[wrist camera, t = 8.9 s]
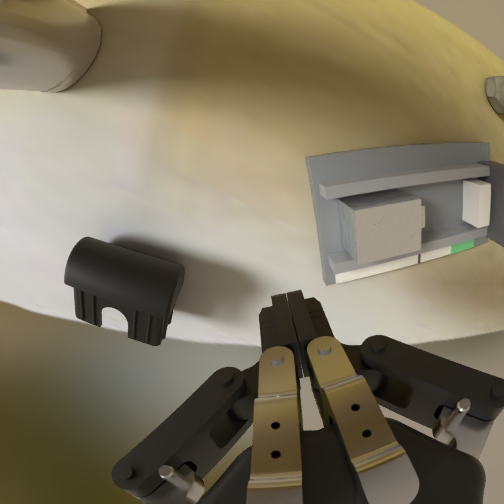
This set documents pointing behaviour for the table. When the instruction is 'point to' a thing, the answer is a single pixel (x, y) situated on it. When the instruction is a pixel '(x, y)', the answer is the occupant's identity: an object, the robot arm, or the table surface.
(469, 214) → the white upright block
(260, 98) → the table surface
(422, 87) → the table surface
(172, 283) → the end cap
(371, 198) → the grey textured block
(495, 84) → the grenade model
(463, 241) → the gauge board
